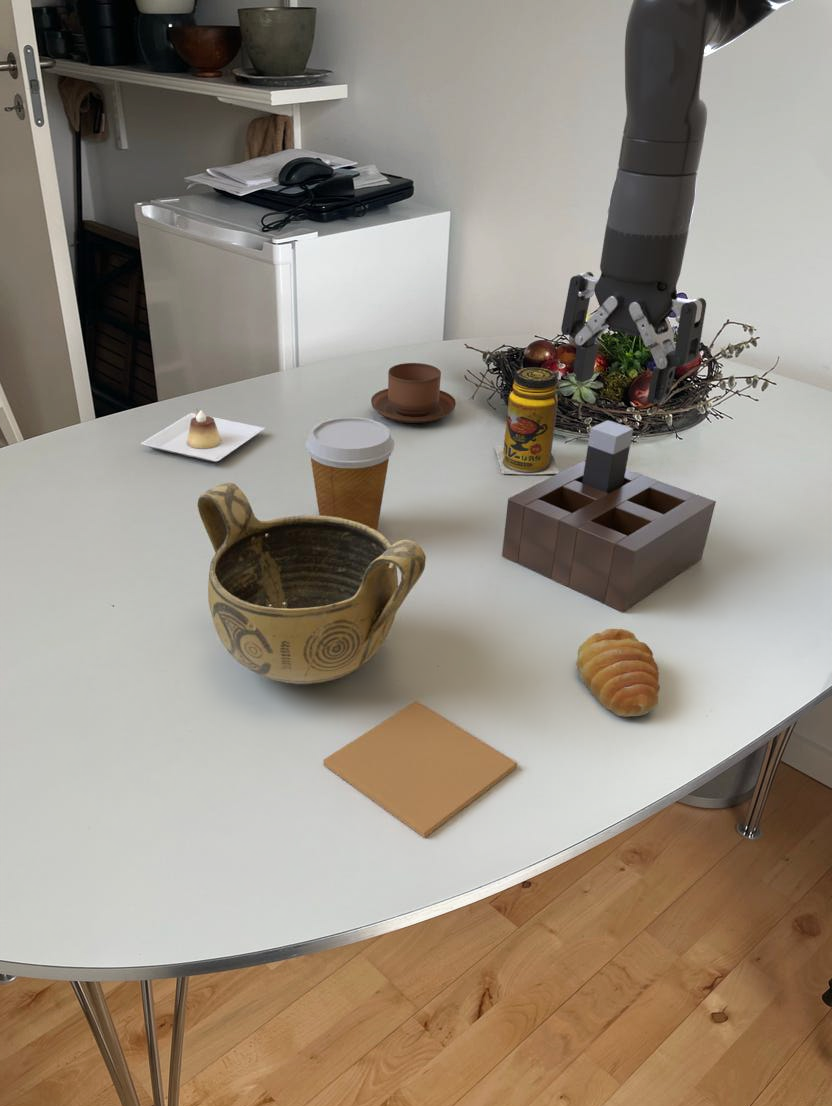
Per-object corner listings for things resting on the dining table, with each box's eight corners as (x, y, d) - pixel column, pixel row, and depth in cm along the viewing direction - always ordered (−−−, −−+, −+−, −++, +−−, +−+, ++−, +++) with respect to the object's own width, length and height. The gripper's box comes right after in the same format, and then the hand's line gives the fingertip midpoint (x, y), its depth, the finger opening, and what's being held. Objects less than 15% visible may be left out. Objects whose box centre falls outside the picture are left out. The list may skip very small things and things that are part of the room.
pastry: (674, 721, 83) (683, 685, 80) (597, 725, 82) (603, 689, 80) (639, 656, 90) (646, 622, 88) (568, 660, 90) (573, 626, 88)
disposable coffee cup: (357, 505, 115) (359, 408, 108) (408, 536, 109) (413, 436, 102) (290, 527, 110) (287, 428, 104) (339, 561, 104) (339, 458, 97)
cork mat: (516, 768, 78) (517, 762, 77) (424, 838, 71) (424, 832, 71) (416, 705, 84) (416, 700, 84) (323, 765, 78) (323, 759, 77)
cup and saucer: (363, 401, 142) (364, 359, 139) (442, 396, 144) (445, 355, 141) (380, 433, 133) (381, 389, 129) (464, 427, 135) (468, 384, 131)
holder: (701, 559, 105) (716, 501, 101) (622, 612, 96) (635, 551, 92) (583, 511, 114) (592, 456, 110) (501, 556, 105) (507, 498, 101)
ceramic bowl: (457, 659, 90) (470, 514, 81) (350, 758, 78) (352, 603, 70) (271, 584, 100) (265, 449, 92) (153, 662, 89) (133, 516, 80)
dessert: (191, 419, 136) (188, 386, 133) (265, 435, 132) (264, 401, 129) (140, 451, 127) (136, 416, 124) (218, 469, 123) (215, 433, 120)
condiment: (502, 475, 122) (512, 382, 115) (493, 447, 129) (502, 359, 122) (559, 475, 122) (573, 383, 115) (548, 448, 129) (560, 359, 122)
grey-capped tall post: (613, 537, 109) (633, 428, 102) (597, 546, 107) (616, 436, 100) (589, 527, 111) (607, 419, 104) (573, 536, 109) (590, 427, 102)
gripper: (738, 229, 88) (700, 400, 97) (605, 205, 96) (581, 364, 106) (696, 242, 84) (660, 420, 93) (561, 215, 92) (540, 381, 101)
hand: (618, 390), depth 99 cm, fingers open, 8 cm apart
